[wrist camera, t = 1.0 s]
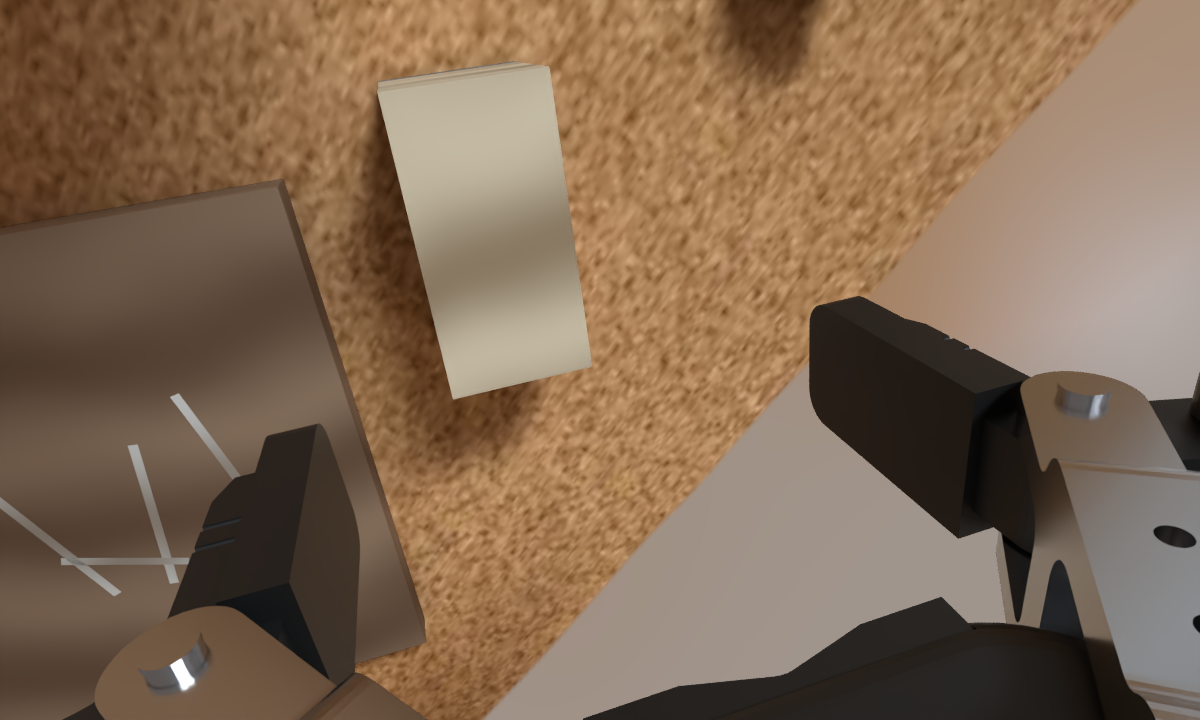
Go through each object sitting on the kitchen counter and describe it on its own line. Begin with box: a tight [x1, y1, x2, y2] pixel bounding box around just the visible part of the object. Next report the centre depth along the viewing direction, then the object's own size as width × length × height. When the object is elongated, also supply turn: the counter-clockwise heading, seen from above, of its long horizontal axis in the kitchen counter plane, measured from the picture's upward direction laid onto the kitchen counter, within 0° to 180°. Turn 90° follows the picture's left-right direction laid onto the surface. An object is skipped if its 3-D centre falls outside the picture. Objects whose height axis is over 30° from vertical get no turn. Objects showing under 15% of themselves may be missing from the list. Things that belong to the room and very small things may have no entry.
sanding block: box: [377, 61, 592, 399], centre depth 23 cm, size 9×4×6 cm, turn 8°
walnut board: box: [0, 179, 426, 720], centre depth 26 cm, size 20×16×2 cm
